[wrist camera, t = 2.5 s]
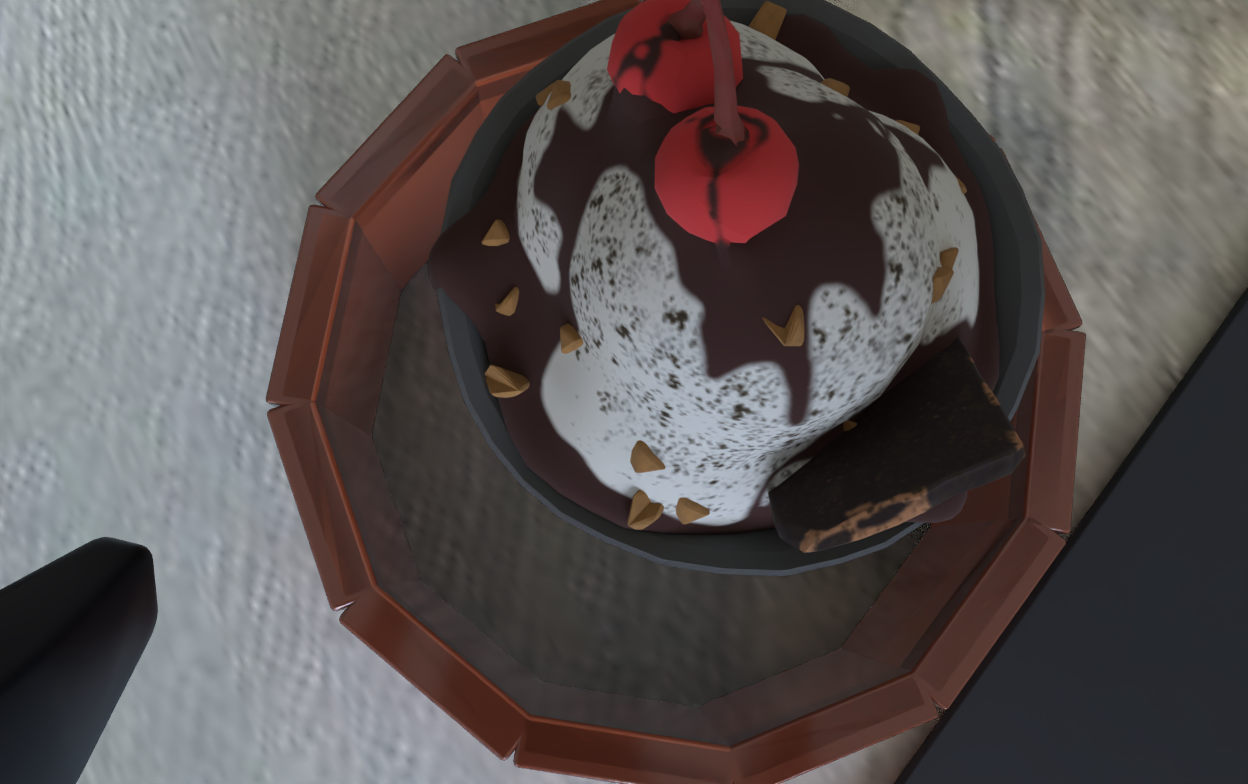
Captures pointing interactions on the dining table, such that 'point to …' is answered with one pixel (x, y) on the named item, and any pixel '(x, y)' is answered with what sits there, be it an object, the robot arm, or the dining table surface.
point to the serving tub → (475, 665)
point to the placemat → (1130, 618)
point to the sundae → (741, 287)
